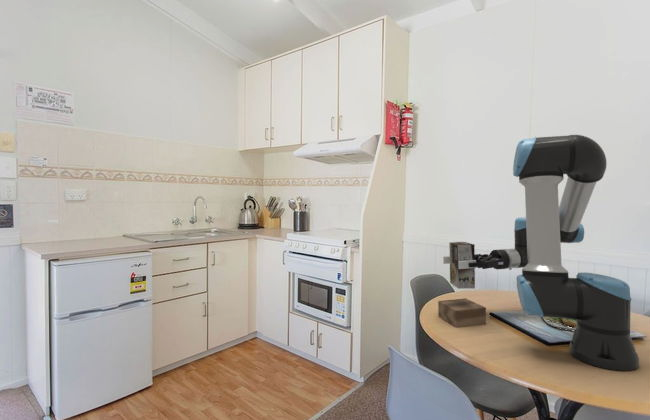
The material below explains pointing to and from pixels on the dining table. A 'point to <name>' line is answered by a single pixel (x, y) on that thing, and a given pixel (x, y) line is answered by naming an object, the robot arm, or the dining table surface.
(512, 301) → the dining table surface
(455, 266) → the coffee box
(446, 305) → the walnut stand
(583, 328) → the robot arm
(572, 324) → the salad plate
